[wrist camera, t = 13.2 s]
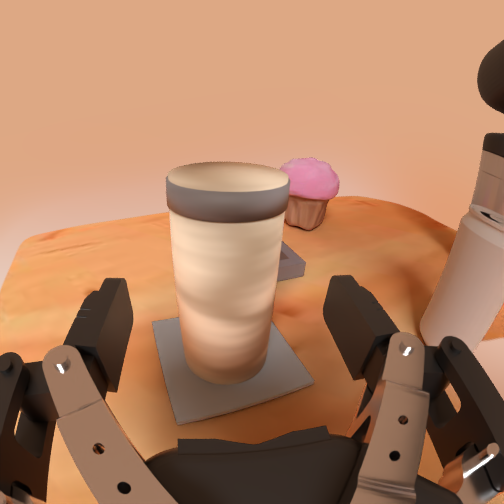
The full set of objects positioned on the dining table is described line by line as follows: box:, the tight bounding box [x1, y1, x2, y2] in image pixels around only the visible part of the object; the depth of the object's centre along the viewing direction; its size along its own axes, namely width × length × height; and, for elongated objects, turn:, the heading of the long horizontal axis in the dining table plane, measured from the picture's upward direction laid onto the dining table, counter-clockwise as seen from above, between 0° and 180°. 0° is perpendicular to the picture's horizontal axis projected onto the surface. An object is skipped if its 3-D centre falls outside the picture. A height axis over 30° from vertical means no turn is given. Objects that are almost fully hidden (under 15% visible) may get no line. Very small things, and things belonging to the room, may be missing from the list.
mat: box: [152, 317, 314, 425], centre depth 18 cm, size 9×9×1 cm
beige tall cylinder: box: [166, 162, 290, 385], centre depth 15 cm, size 6×6×12 cm
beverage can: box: [420, 204, 504, 353], centre depth 17 cm, size 6×6×12 cm
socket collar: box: [277, 241, 306, 281], centre depth 30 cm, size 10×10×2 cm
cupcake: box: [279, 158, 339, 230], centre depth 38 cm, size 9×9×10 cm
